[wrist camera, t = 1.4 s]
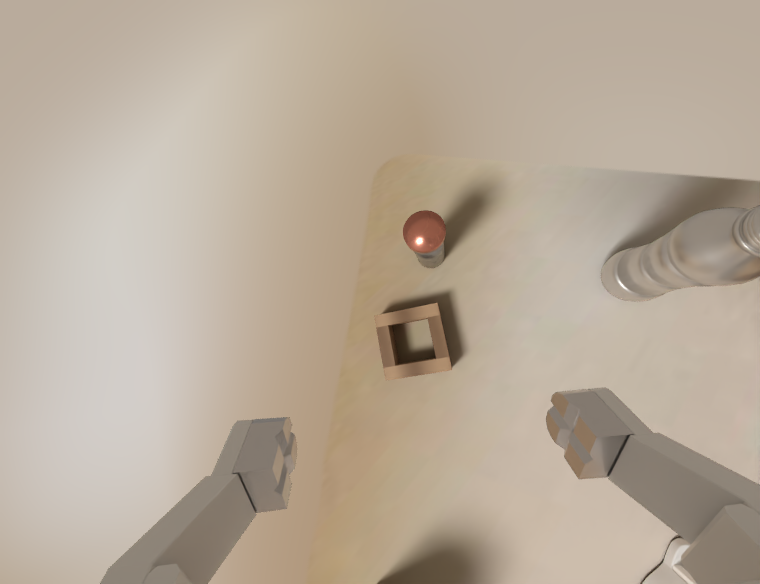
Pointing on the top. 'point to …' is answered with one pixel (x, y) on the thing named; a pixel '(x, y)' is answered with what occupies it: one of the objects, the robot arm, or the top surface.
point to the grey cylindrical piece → (426, 237)
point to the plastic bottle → (689, 256)
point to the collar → (389, 346)
